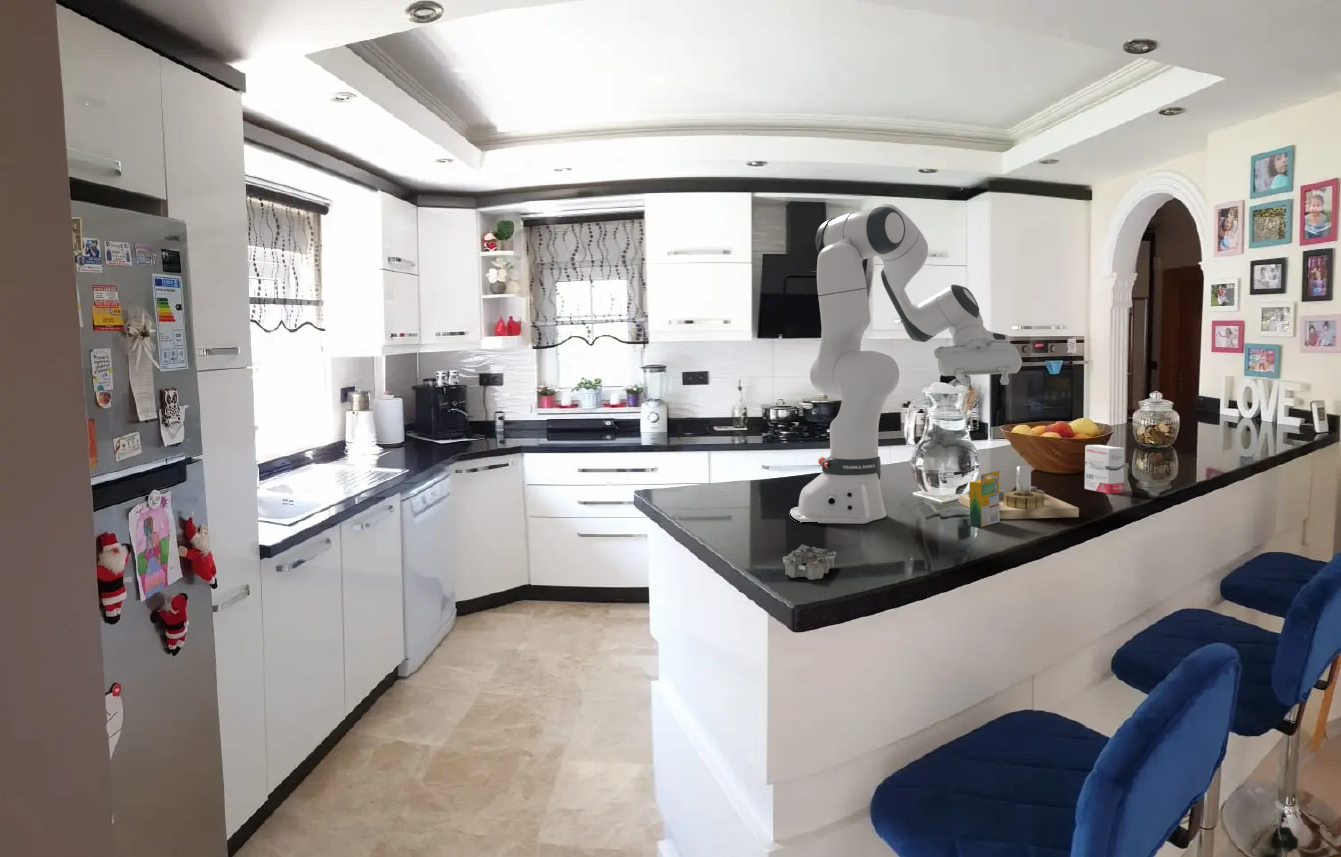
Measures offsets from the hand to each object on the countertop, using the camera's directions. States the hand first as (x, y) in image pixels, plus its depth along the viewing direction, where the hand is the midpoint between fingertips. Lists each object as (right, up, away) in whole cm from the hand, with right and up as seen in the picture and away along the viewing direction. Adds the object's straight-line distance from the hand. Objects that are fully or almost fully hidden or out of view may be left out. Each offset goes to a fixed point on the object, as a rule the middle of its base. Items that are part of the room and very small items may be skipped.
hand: (986, 383), depth 189 cm
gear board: (+2, -30, -11) cm, 32 cm away
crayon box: (-10, -33, -24) cm, 42 cm away
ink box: (+33, -28, +6) cm, 44 cm away
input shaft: (+2, -29, -16) cm, 33 cm away
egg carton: (-54, -37, -53) cm, 85 cm away
